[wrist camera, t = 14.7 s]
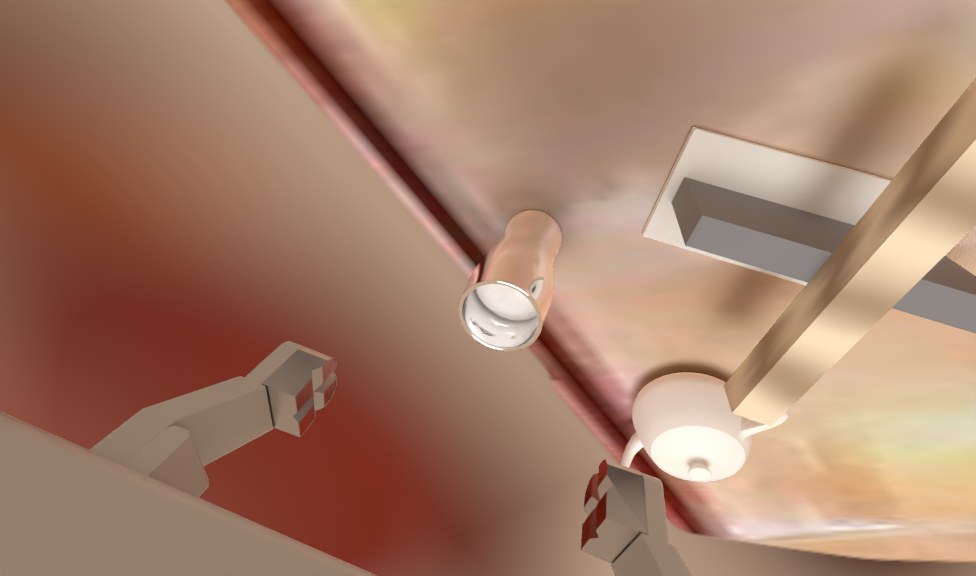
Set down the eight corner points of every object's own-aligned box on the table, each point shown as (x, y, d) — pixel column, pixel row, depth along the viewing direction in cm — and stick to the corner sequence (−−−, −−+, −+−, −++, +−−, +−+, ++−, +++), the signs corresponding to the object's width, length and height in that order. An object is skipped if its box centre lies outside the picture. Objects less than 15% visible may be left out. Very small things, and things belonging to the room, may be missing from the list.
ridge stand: (692, 126, 33) (717, 155, 25) (978, 203, 30) (1110, 263, 22) (642, 231, 39) (648, 283, 30) (879, 303, 36) (955, 381, 28)
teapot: (640, 454, 55) (643, 528, 47) (583, 397, 52) (576, 465, 44) (799, 405, 44) (840, 490, 36) (737, 330, 41) (767, 403, 33)
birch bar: (982, 69, 20) (1034, 73, 17) (1049, 84, 19) (1111, 91, 17) (723, 385, 33) (731, 413, 31) (759, 397, 33) (771, 426, 31)
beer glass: (541, 192, 39) (507, 261, 27) (579, 247, 41) (563, 334, 29) (488, 227, 43) (437, 302, 31) (525, 276, 45) (491, 365, 32)
